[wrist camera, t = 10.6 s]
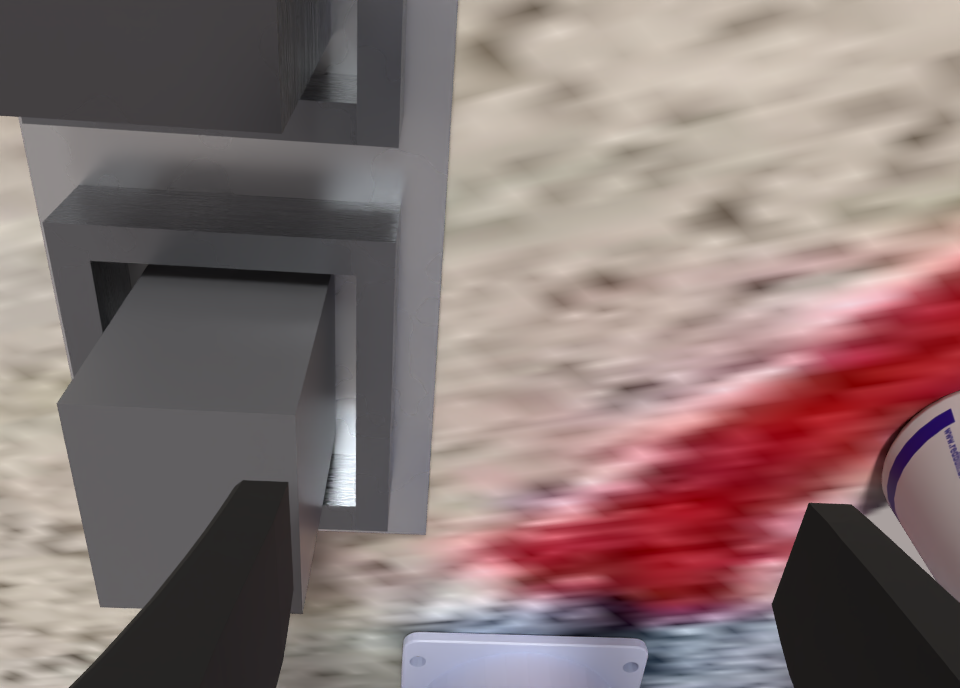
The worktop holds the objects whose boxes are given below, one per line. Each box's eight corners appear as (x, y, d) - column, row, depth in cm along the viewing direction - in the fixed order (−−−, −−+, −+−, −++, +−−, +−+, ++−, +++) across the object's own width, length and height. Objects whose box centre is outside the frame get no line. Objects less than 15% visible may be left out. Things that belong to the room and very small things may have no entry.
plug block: (335, 432, 23) (302, 613, 18) (179, 424, 22) (100, 606, 17) (334, 260, 20) (295, 415, 15) (157, 249, 20) (57, 403, 15)
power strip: (426, 510, 26) (418, 724, 20) (112, 498, 25) (7, 715, 19) (478, -352, 15) (496, -452, 9) (-60, -408, 15) (-412, -552, 9)
